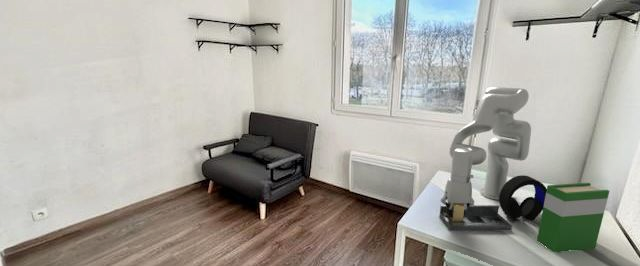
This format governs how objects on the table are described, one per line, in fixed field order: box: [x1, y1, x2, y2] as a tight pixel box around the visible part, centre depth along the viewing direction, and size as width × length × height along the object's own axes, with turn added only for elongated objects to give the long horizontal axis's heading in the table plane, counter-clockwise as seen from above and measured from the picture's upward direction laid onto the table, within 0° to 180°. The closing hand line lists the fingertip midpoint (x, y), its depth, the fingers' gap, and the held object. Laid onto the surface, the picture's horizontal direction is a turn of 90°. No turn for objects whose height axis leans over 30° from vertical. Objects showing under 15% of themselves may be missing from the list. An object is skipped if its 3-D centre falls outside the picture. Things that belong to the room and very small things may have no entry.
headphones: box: [498, 175, 547, 222], centre depth 127 cm, size 19×7×20 cm, turn 94°
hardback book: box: [536, 182, 610, 254], centre depth 108 cm, size 18×7×24 cm, turn 97°
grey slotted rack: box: [438, 204, 513, 232], centre depth 125 cm, size 26×11×6 cm, turn 89°
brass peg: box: [448, 203, 465, 223], centre depth 124 cm, size 4×4×8 cm
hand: (455, 215), depth 124 cm, fingers closed on brass peg, 4 cm apart
